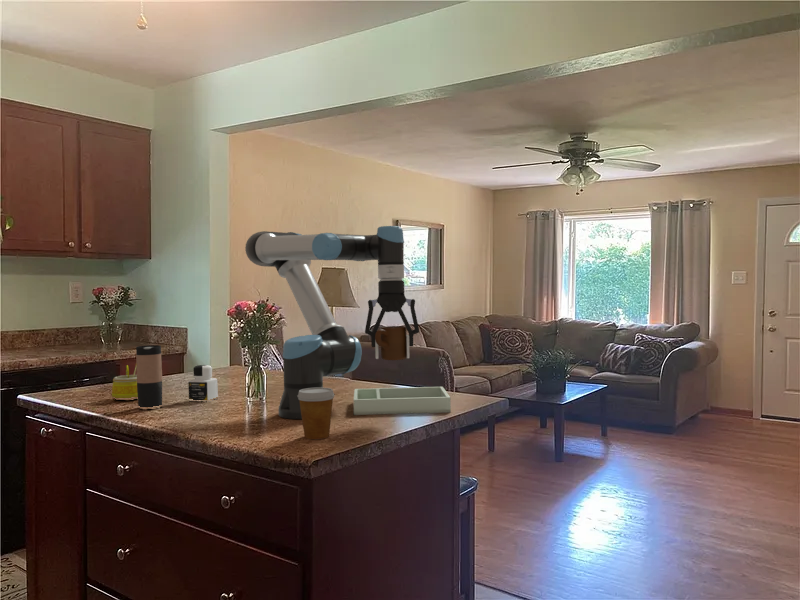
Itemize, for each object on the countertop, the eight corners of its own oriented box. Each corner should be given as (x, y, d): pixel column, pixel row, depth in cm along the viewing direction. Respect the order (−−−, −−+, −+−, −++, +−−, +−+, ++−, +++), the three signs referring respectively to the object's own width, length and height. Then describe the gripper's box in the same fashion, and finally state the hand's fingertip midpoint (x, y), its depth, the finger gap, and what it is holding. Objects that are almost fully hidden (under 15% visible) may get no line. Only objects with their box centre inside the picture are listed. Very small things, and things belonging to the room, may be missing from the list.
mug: (387, 362, 181) (386, 329, 181) (366, 361, 186) (365, 328, 186) (412, 358, 191) (411, 326, 191) (391, 356, 196) (391, 325, 195)
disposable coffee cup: (340, 433, 171) (339, 387, 170) (327, 441, 161) (326, 393, 161) (306, 431, 173) (305, 386, 173) (292, 440, 164) (291, 392, 163)
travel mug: (152, 405, 215) (150, 344, 215) (168, 407, 211) (166, 345, 211) (132, 409, 209) (130, 347, 208) (148, 411, 205) (146, 348, 204)
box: (353, 414, 194) (353, 399, 193) (355, 402, 214) (354, 388, 213) (450, 412, 195) (450, 397, 195) (442, 400, 215) (442, 386, 215)
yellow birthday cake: (134, 402, 221) (133, 367, 221) (105, 402, 223) (104, 367, 223) (154, 395, 234) (153, 362, 234) (126, 395, 236) (125, 362, 235)
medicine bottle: (188, 401, 220) (187, 366, 220) (199, 398, 227) (198, 363, 227) (207, 402, 218) (206, 366, 218) (218, 398, 225) (217, 364, 225)
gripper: (353, 280, 184) (355, 360, 185) (428, 279, 184) (429, 358, 185) (355, 280, 192) (357, 357, 192) (427, 279, 192) (428, 356, 192)
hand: (392, 358), depth 189 cm, fingers closed on mug, 8 cm apart
